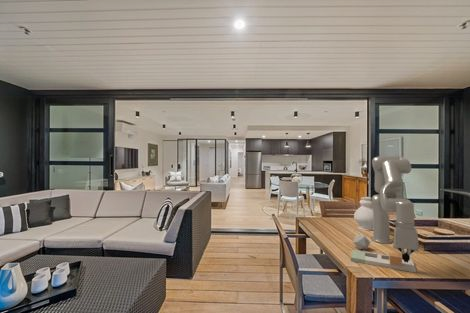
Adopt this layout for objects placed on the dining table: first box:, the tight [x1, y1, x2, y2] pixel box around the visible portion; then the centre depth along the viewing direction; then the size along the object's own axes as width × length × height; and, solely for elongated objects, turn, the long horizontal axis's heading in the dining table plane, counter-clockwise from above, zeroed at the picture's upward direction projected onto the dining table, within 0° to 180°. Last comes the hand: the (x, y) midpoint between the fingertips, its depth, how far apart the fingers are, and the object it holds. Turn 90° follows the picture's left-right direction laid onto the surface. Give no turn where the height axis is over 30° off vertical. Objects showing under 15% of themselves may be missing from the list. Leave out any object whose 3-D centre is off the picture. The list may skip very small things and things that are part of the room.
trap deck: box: [350, 249, 417, 273], centre depth 131 cm, size 13×29×2 cm, turn 62°
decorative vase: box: [353, 196, 373, 231], centre depth 195 cm, size 18×18×25 cm
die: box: [352, 234, 371, 250], centre depth 151 cm, size 8×9×10 cm
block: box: [388, 252, 402, 267], centre depth 124 cm, size 5×5×4 cm
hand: (405, 261), depth 123 cm, fingers closed
